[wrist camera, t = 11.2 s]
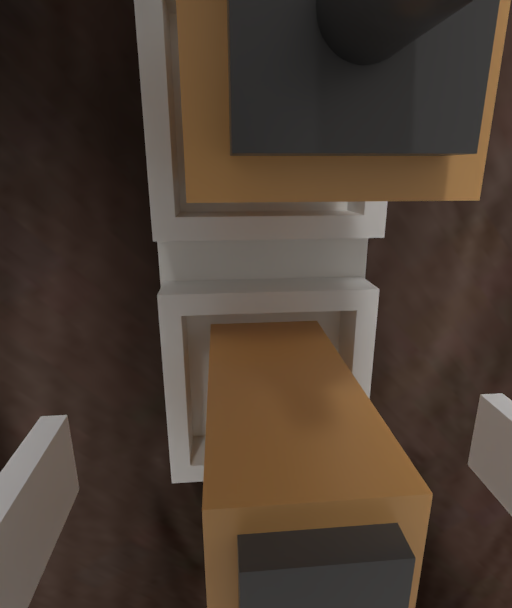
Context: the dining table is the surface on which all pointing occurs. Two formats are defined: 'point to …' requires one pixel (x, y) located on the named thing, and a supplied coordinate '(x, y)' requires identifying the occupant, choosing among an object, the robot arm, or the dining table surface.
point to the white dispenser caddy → (297, 162)
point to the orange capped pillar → (303, 479)
